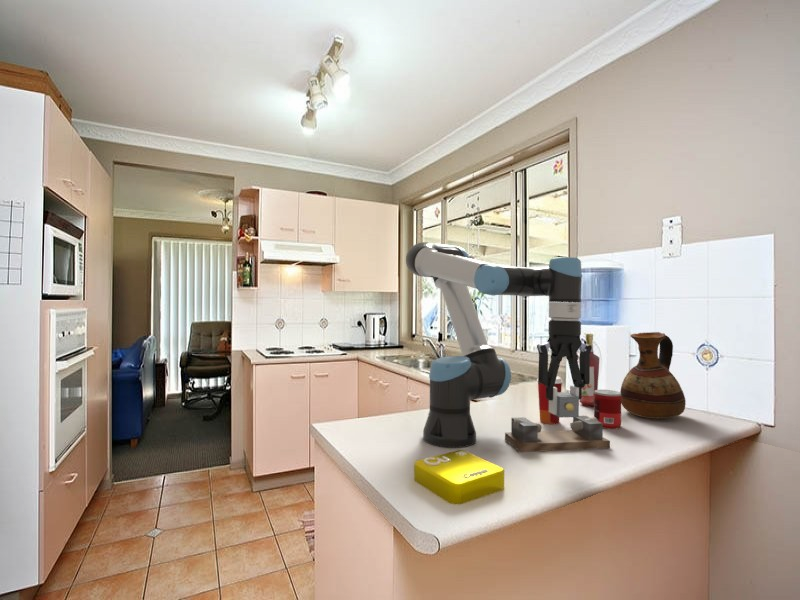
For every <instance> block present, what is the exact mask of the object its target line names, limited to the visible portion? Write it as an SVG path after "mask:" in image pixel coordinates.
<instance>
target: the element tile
mask: <svg viewBox="0 0 800 600" xmlns="http://www.w3.org/2000/svg"><path fill="white" fill-rule="evenodd" d="M413 466H414V467H413V470H414V471H413V481H414V482H415V483H417V484H418V485H420V486H421V487H423V488H425V489H426V490H428V491H430V492H431V493H432V494H434V495H435V496H437V497H439V498H440V499H442V500H444V501H445V502H446V503H449V504H453V505H462V504H466V503H468V502H472V501H474V500H477V499H480V498H484V497H486V496H490V495H493V494H495V493H498V492H502V491H504V489H505V469H504V468H503V467H501V466H499V465H497V464H495V463H492V462H490V461H488V460H485V459H483V458H482V457H480V456H478V455H477V456H476V455H474V454H472V453H470V452H468V451H466V450H462V449H459V450H454V451H450V452H445V453H440V454H438V455H437V454H436V455H434V456H428V457H425V458H422V459H421V458H420V459H418V460H415V461H414V464H413Z"/></svg>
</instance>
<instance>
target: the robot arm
mask: <svg viewBox="0 0 800 600" xmlns="http://www.w3.org/2000/svg"><path fill="white" fill-rule="evenodd" d="M405 264H406V267H407V269H408V270H409V272H411V273H412V274H413V275H415V276H419V277H423V278H432V280H433V283H434V285H435V287H436V288H437V289H440V290H441V293H442V296H443V299H444V301H445V305H446V307H447V308H446V309H447V312H448V314H449V318H450V321H451V323H452V327H453V330H454V333H455V336H456V339H457V342H458V345H459V348H460V351H461V355H452V356H451V355H448V356H442V357H438V358H436V359H434V360H433V361H432V362H431V364H430V365H429V366H430V368H429V375H428V377H429V412H428V415H427V418H426V421H425V425H424V428H423V431H422V433H423V434H422V435H423V437H422V438H423V440H424V441H425V442H426V443H427V444H430V445H433V446H436V447H437V446H438V447H440V448H441V447H443V448H465V447H469V446H472V445H474V444H475V443H476V441H477V432H476V429H475V428H476V427H475V425H474V421H473V419H472V415H471V401H472V400H479V399H486V398H494V397H496V396H500V395H503V394H504V393H506V392H507V390H508V388H509V387H510V383H511V380H512V371H511V368H510V365H509V364H508V362H507V361H506V360H504V359H503V358H502V357H499V356H498V355H497V352H496V350H495V347H492V346H490V345H489V344H488V341H487V338H486V336H485V333H484V330H483V327H482V325H481V321H480V318H479V315H478V313H477V311H476V307H475V305H474V302H473V300H472V296H471V294H470V291H469V288H473V289H476V290H478V292H479V293H480V294H482V295H488V296H517V297H519V296H520V297H528V298H529V297H542V296H543V297H544V296H545V297H548V318H550V319H549V321H548V339H547V341H546V342H544V343H538V344H537V345H536V349H537V351H538V374H537V375H538V377H537V379H538V381H537V383H538V382H539V383H541V384H543V385H545V386H546V399H548V400H549V412H550V413H552V414H554V415H557V388H556V387H554V385H555V381H556V377H557V376H558V372H559V369H560V365H561V362H562V361H563V358H566V360H567V363H568V367H569V371H570V376H571V381H572V384H573V385H569V393H571V394H573V395H576V396H579V401H580V400H581V398H582V388H584V386H585V385H586V384H587V385H588V384H589V383H590V352H591V349H592V346H591V345H587V344H586V343H584V342H582V340H581V334H582V322H581V321H580V320H579V319H581V318H582V299H581V298H582V280H583V278H582V277H583V273H582V262H581V259H579V258H578V257H572V256H562V257H561V256H559V257H553V258H550V260H549V264H548V266H546V267H523V266H509V265H501V264H496V263H491V262H485V261H482V260H477V259H473V258H470V256H469V254H468V252H467V251H466V250H465V249H464V248H463V247H461V246H458V245H454V244H449V243H448V244H442V243H435V242H429V241H428V242H427V241H425V242H417V243H415V244H413V245H412V246H411V247H410V248H409V249H408V251H407V253H406V256H405ZM468 287H469V288H468ZM549 349H550V350H551V353H550V354H551V355H550V362H549V351H550V350H549ZM578 350H579V356H580V369H579V356H578V353H577V352H578Z"/></svg>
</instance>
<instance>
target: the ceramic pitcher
mask: <svg viewBox="0 0 800 600" xmlns="http://www.w3.org/2000/svg"><path fill="white" fill-rule="evenodd" d="M630 338H632V340H634V341H635V342H636V343H637V345H638V353H639V359H638V363H637V364H636V365H634V366H633V367H632V368H631V369H629V371H628V372H627V373H626V375H625V377H624V378H623V380H622V382H621V387H620V391H619V392H620V393H621V407H623V409H625V410H626V411H627V412H629V413H631V414H633V415H636V416H638V417H642V418H649V419H667V418H673V417H677V416H680V415H682V414H683V413H684V411H685V410H686V403H687V402H686V396H685V393H684V391H683V389H682V387H681V384H680V382H679V381H678V380H677V378H676V377H675V375H673V374H672V372H671V371H670V368H671V364H672V358H673V355H674V354H673V353H674V345H673V341H672V339H671V338H670V337H669V336H668V335H666V334H665V333H664V332H663V333H662V332H659V331H651V332H638V333H633V334H630ZM658 351H659V355H658Z"/></svg>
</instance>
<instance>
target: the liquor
mask: <svg viewBox="0 0 800 600" xmlns="http://www.w3.org/2000/svg"><path fill="white" fill-rule="evenodd" d="M593 340H594V334H593V333H585V341H586V342H585V344H587V345H591V346H592V349H591V352H590V383H589V384H588V385H587V384H586V385H585V386H584V388H582V398H581V400H579V404H581V405H582V406H584V407H588V408H590V407H591V408H592V407H593V408H594V391H595V390H599V376H600V374H599V373H600V359H601V358H600V357H599V356H598V355H596V354H594V345H593ZM578 365H579V370H580V355H579V356H578Z"/></svg>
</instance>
